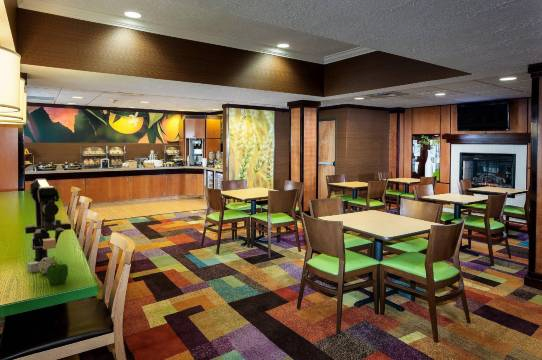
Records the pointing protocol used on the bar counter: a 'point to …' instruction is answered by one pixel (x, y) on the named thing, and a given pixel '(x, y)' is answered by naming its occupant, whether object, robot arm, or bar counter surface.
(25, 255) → the bar counter surface
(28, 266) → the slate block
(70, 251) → the bar counter surface
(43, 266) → the game die
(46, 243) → the terracotta block
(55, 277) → the bell pepper
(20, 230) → the bar counter surface
